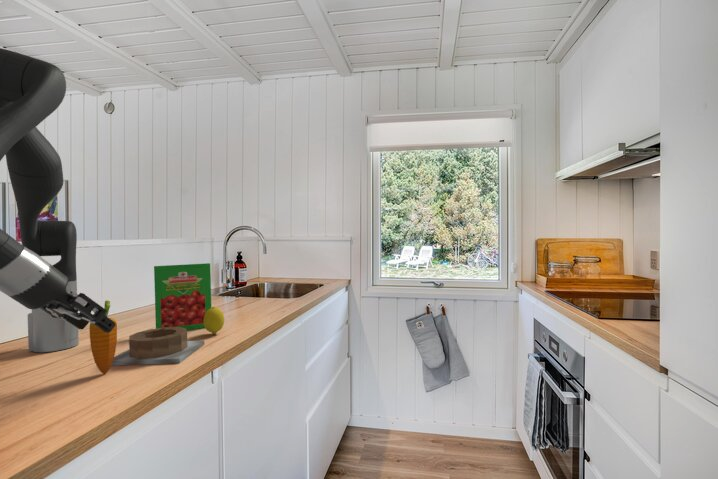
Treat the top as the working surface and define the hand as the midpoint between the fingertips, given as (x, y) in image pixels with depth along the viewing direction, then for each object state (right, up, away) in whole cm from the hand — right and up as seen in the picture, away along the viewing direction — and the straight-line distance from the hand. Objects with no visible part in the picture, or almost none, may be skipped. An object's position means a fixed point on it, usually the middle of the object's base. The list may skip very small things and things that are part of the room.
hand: (98, 327), depth 73 cm
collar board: (+5, -10, +13) cm, 17 cm away
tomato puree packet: (0, -10, +36) cm, 37 cm away
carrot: (+1, -10, +1) cm, 10 cm away
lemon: (+12, -10, +30) cm, 34 cm away
